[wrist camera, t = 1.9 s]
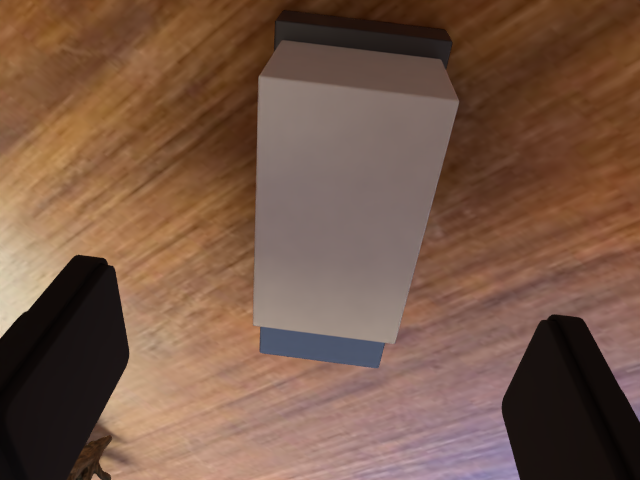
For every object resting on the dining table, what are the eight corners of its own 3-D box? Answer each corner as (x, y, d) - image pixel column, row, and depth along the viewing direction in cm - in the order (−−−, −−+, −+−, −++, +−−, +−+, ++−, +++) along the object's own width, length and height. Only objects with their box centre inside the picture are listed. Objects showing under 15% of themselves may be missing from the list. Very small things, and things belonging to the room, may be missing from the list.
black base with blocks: (282, 9, 15) (249, 51, 11) (446, 29, 15) (475, 79, 11) (268, 301, 22) (245, 394, 18) (380, 315, 22) (382, 412, 18)
